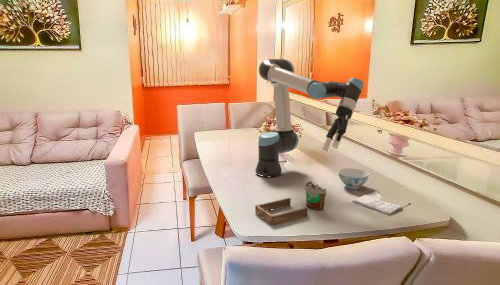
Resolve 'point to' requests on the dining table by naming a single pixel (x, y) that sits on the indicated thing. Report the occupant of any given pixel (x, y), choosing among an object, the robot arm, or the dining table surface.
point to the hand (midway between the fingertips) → (329, 149)
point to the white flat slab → (376, 203)
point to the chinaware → (353, 177)
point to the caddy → (282, 217)
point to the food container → (314, 196)
